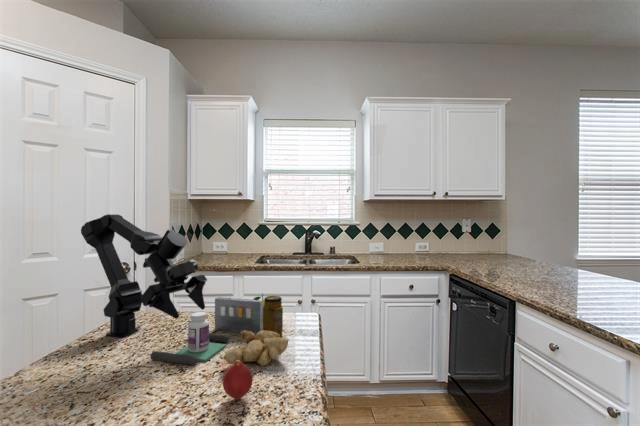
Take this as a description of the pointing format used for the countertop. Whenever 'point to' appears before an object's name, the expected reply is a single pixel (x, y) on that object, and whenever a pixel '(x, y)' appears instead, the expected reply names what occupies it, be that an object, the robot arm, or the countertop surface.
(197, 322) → the pill bottle
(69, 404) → the countertop surface
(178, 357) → the dark grey rounded rod
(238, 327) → the gray printed box
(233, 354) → the ginger root
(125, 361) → the countertop surface
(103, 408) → the countertop surface
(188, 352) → the pad
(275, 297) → the condiment
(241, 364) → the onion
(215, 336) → the dark grey rod
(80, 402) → the countertop surface
